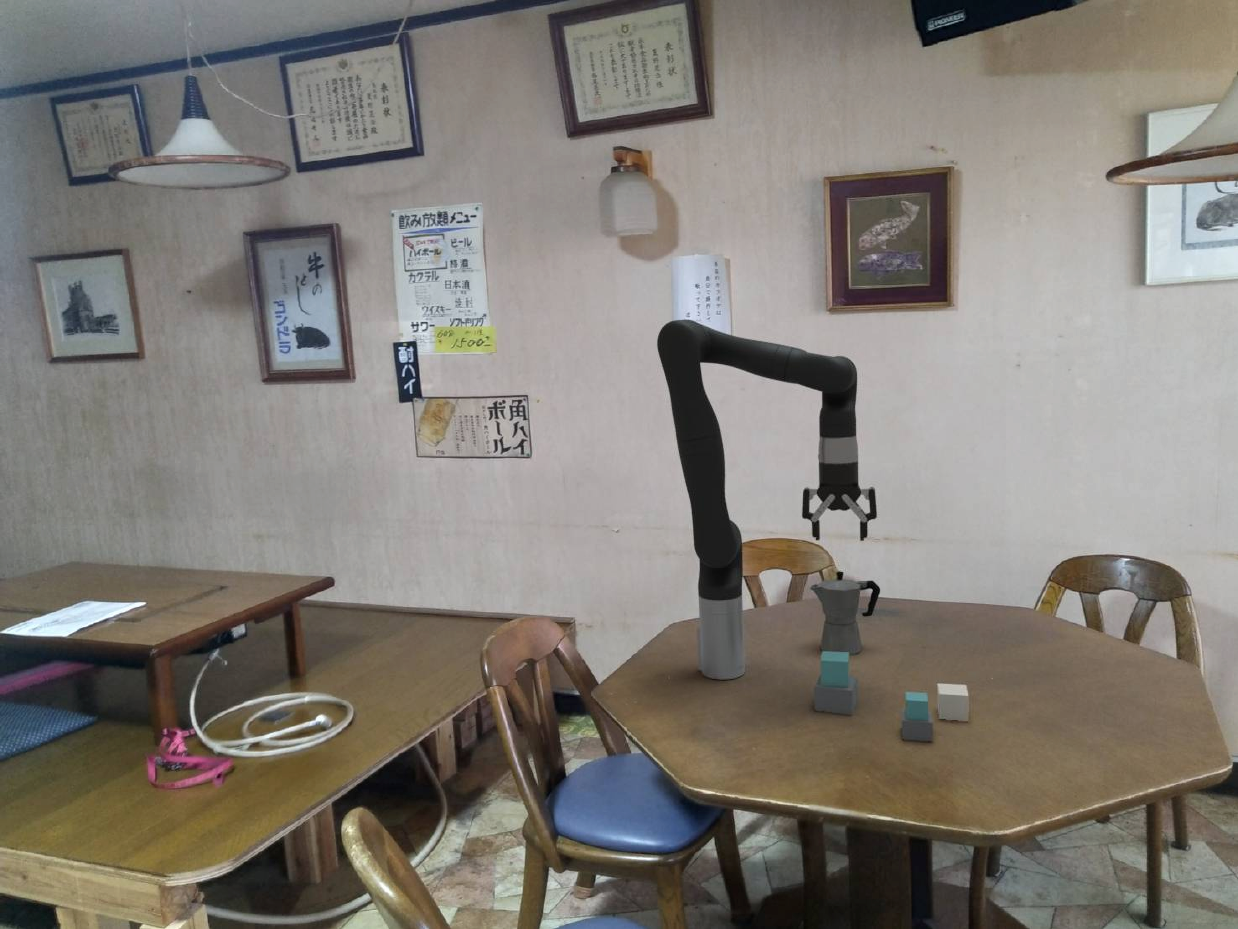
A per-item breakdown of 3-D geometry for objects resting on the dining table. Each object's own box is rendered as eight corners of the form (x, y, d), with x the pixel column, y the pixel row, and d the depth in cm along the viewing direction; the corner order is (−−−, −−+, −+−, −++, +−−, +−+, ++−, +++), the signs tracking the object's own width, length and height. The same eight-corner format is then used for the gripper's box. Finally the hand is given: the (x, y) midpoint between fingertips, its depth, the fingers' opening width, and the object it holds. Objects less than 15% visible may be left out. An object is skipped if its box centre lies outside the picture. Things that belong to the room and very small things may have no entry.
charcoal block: (814, 711, 168) (814, 686, 167) (821, 697, 174) (820, 673, 173) (852, 716, 165) (851, 690, 164) (857, 701, 171) (857, 676, 171)
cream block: (939, 720, 161) (939, 694, 161) (937, 708, 166) (937, 683, 165) (968, 722, 160) (968, 695, 159) (966, 710, 165) (966, 685, 164)
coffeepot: (815, 657, 195) (813, 578, 192) (808, 642, 204) (806, 567, 202) (886, 655, 194) (885, 575, 191) (875, 640, 203) (874, 564, 201)
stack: (902, 739, 154) (902, 701, 153) (901, 727, 159) (901, 690, 158) (932, 741, 153) (932, 703, 152) (931, 729, 158) (931, 691, 157)
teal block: (821, 685, 167) (820, 660, 167) (822, 675, 172) (822, 651, 171) (848, 687, 166) (847, 661, 165) (849, 677, 171) (848, 652, 170)
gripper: (876, 455, 174) (877, 536, 177) (802, 456, 178) (804, 535, 181) (876, 461, 167) (876, 545, 169) (799, 462, 171) (801, 543, 174)
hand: (839, 539), depth 175 cm, fingers open, 8 cm apart
